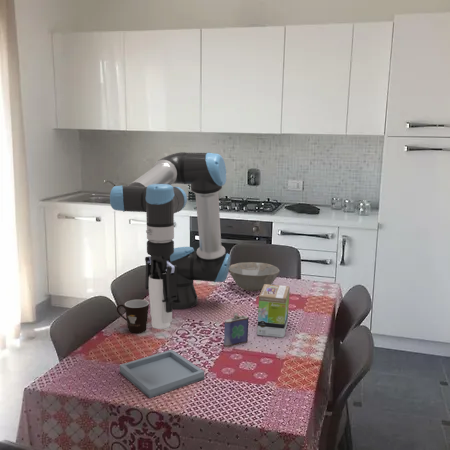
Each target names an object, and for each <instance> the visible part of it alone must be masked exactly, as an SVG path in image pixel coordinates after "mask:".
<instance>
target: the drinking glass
mask: <svg viewBox="0 0 450 450" xmlns="http://www.w3.org/2000/svg"><path fill="white" fill-rule="evenodd" d="M163 274H166V273H163ZM148 296H149V309H150V308H151V316H150V317H151V318H150V319H151V327H152V328H153V329H155V330H165V329H168V328H170V326H171V322H169V323H165V324H164V323H163V310H162V300H164V295H163V280H162V279H161V278H160V279H152V275H150V276H149V291H148Z"/></svg>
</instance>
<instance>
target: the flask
mask: <svg viewBox="0 0 450 450" xmlns="http://www.w3.org/2000/svg"><path fill="white" fill-rule="evenodd" d="M249 320H250V318H249V316H247V315H238V312H234V313H233V317H231V318H228V319H225V320H224V331H223V333H224V335H223V336H224V337H223V338H224V340H223V346H224V347H225V348H229V347H232V346H238V345H241V344H246V343H248V342H249V341H248V340H249Z"/></svg>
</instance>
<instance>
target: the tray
mask: <svg viewBox="0 0 450 450" xmlns="http://www.w3.org/2000/svg"><path fill="white" fill-rule="evenodd" d="M119 373H120V374H121V375H122V376H123V377H124V378H126V379H127V380H128V381H129V382H130V383H131V384H133V385H134V386H135V387H136V389H138V390H139V391H140V392H142V393H143V394H144V395H145V396H147V398H149V399H152V398H155V397H156V396H160V395H163V394H165V393H168V392H171V391H174V390H177V389H180V388H183V387H185V386H188V385H191V384H194V383H196V382H199V381H203V380H205V370H203V369H202V368H201V367H199V366H198V365H196V364H194V363H193V362H191V361H189V360H188V359H187V358H186V357H184V356H182V355H180V354H179V353H178V352H177V351H175V350H173V349H169V350H166V351H162V352H159V353H155V354H152V355H148V356H145V357H142V358H138V359H135V360H132V361H131V360H130V361H129V362H126V363H125V362H124V363H121V364H119Z"/></svg>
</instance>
